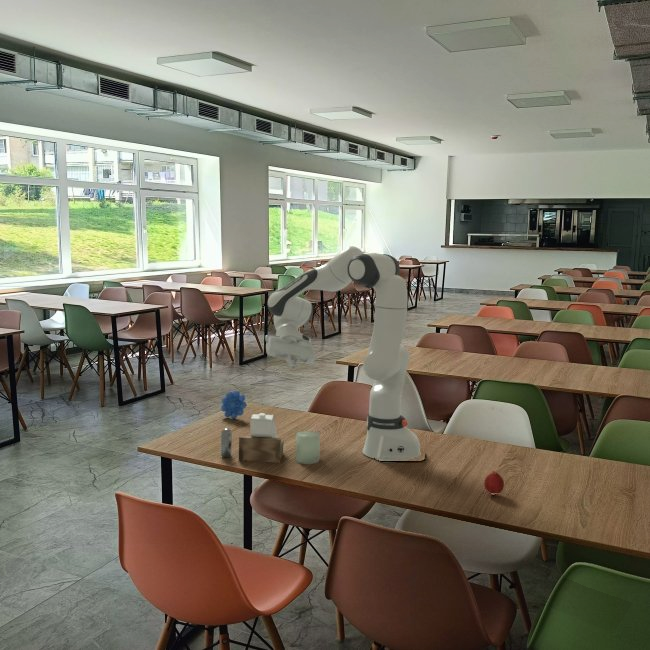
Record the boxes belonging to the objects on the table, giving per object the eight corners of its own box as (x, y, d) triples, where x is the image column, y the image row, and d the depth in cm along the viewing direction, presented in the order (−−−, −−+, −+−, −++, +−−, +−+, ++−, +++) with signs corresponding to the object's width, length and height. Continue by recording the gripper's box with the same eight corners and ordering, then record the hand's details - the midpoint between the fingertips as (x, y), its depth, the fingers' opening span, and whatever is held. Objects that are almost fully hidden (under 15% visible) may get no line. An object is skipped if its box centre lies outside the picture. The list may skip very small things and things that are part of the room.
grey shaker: (232, 454, 223) (232, 427, 222) (230, 458, 219) (230, 430, 218) (222, 453, 223) (222, 426, 222) (219, 457, 220) (220, 429, 218)
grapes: (250, 418, 266) (251, 389, 264) (243, 422, 260) (243, 393, 258) (226, 414, 270) (226, 386, 268) (218, 418, 264) (218, 389, 262)
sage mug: (313, 452, 228) (314, 428, 227) (321, 463, 218) (322, 437, 217) (291, 454, 226) (292, 429, 224) (298, 464, 216) (299, 439, 214)
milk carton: (274, 451, 228) (270, 429, 212) (254, 450, 228) (248, 428, 212) (276, 432, 232) (272, 409, 216) (257, 431, 232) (251, 408, 216)
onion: (488, 490, 201) (490, 465, 200) (506, 495, 197) (508, 470, 196) (480, 495, 196) (482, 470, 195) (497, 501, 193) (500, 475, 191)
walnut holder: (283, 453, 226) (283, 431, 225) (279, 462, 217) (280, 439, 216) (243, 450, 227) (244, 429, 226) (238, 460, 218) (239, 437, 217)
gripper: (268, 328, 242) (273, 356, 234) (314, 339, 252) (320, 367, 244) (260, 338, 246) (265, 367, 237) (306, 349, 256) (312, 376, 247)
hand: (293, 367), depth 240 cm, fingers closed
